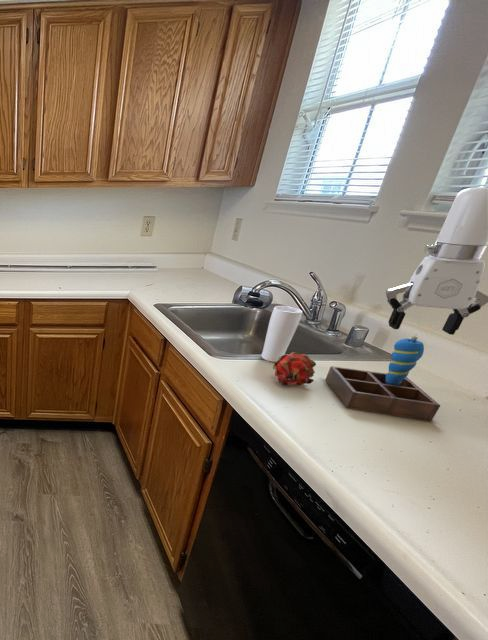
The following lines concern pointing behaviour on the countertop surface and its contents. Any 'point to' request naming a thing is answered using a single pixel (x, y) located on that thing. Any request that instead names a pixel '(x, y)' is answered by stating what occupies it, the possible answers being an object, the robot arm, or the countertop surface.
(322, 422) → the countertop surface
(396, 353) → the ornament
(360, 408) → the divided tray
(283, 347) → the drinking glass
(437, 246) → the robot arm
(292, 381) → the dragon fruit
